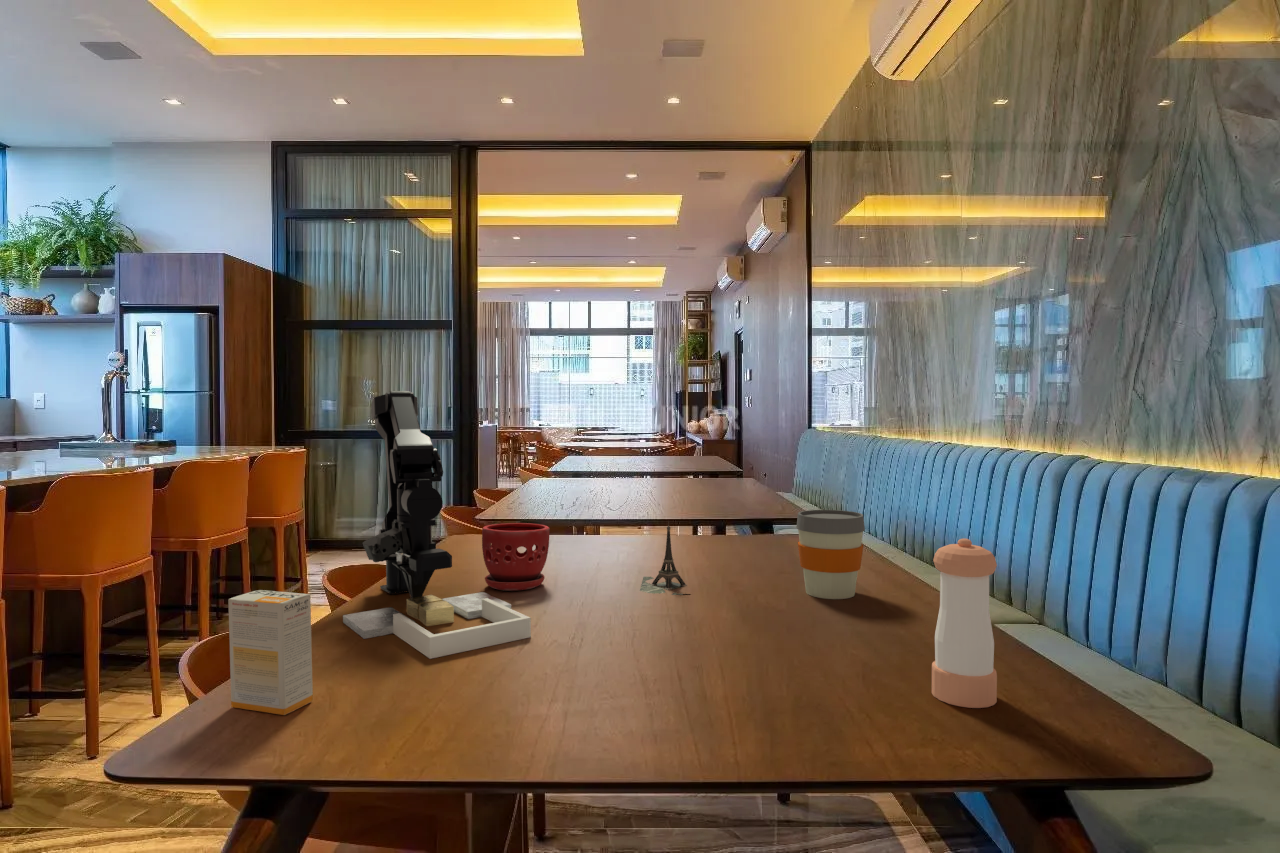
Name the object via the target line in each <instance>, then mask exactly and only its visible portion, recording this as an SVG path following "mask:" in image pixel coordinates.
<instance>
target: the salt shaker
mask: <svg viewBox="0 0 1280 853" xmlns="http://www.w3.org/2000/svg"><path fill="white" fill-rule="evenodd" d="M996 561H997V560H996V557H995V555H994V554H993V552H992V551H991V550H989V549H986V548H985V547H982V546H980V545H975V544H973V542H972V540H970V539H969V538H960V539H958V541H957V543H950V544H947V545H944V546H941V547H939V548H938V549H937V550H936V552H935V553H934V556H933V563H934V566H935V568H936V570H938V571H939V572H940V575H939V577H940V580H939V581H940V586H939V610H938V616H937V619H936V620H937V622H936V627H935V632H934V659H935V660H934V661H932V663H931V694H932V696H933V697H934V698H936V699H937V700H939V701H941V702H943V703H946V704H949V705H952V706H955V707H962V708H969V709H971V708H972V709H981V708H982V709H983V708H989V707H991V706H992V707H993V706H995V705H996V703H997V702H998V700H997V698H998V697H997V696H998V693H997V692H998V689H997V688H998V687H997V686H998V674H997V670H996V669H995V668H994V664H995V662H994V659H995V655H994V654H995V640H994V634H993V626H992V621H991V615H990V576H992V575H993V574H994V573H995V571H996V569H997V566H998V565H997V562H996Z"/></svg>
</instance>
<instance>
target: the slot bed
mask: <svg viewBox="0 0 1280 853" xmlns="http://www.w3.org/2000/svg"><path fill="white" fill-rule="evenodd" d="M485 598H488V599H490V600H493V601H495V602H497V603H499V604H501V605H504V606H506V607H508V608H510V609H512V604H511V603H509V602H507V601H505V600H503V599H500V598H498V597H496V596H493V595H491V594H489V593H487V592H484V591H480V592H476V593H475V592H474V593H468V594H463V595H458V596H457V595H455V596H450V597H444V598H441V599H442V600H443V601H447V602H448V603H449V604H451V605H452V606H454V614H457V615H459V616H461V617H462V618H465V619H467V620H472V619H477V618H483V617H482V599H485ZM397 613H400V614H402V615H403V616H405V617H406V618H408V619H410V620H411V621H413V622H415V623H416V621H415V620H413V619H411V617H408V616H406V615H405V614H404V613H402V612H400V611H398V610H397V609H395V608H393V607H383V608H378V609H372V610H367V611H360V612H354V613H349V614H343V615H342V622H343V624H344V625H346V627H348V628H350V629H351V630H352V631H353V632H355V633H356V634H357V635H359V636H360V637H361V638H362V639H370V638H376V637H381V636H386V635H392V634H394V633H393V614H397Z"/></svg>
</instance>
